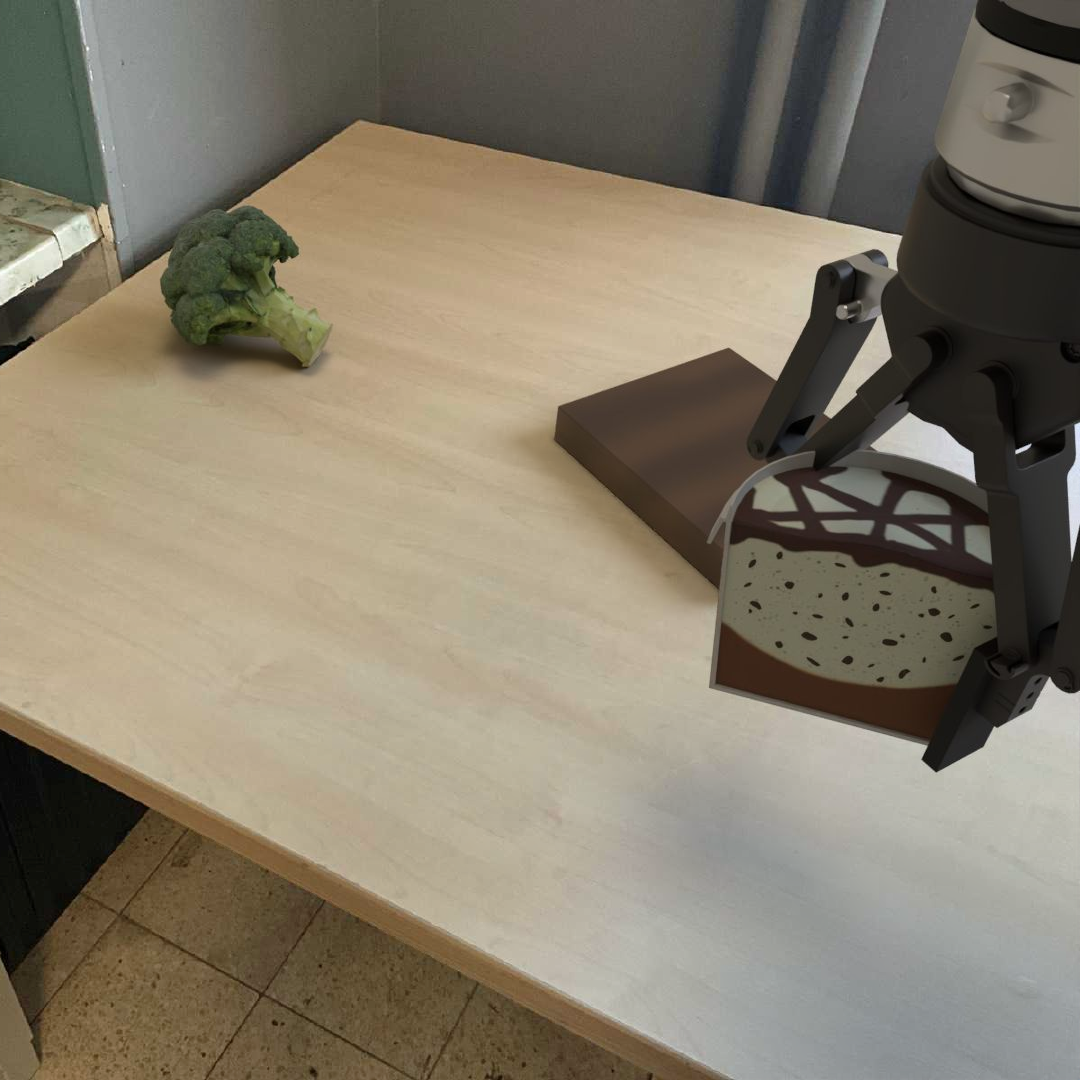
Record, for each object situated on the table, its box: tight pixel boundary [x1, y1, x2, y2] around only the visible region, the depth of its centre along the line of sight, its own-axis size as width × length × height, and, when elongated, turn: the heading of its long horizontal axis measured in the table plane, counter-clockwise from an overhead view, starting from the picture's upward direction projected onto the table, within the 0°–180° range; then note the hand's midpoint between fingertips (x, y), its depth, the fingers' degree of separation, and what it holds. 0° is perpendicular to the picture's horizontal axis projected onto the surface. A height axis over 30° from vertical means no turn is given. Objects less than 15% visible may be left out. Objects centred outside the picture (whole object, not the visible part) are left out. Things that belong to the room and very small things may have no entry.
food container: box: [707, 450, 997, 747], centre depth 48 cm, size 12×6×10 cm, turn 68°
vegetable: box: [159, 205, 334, 368], centre depth 93 cm, size 12×13×15 cm
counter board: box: [553, 347, 878, 589], centre depth 81 cm, size 20×16×3 cm
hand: (862, 675), depth 50 cm, fingers closed on food container, 9 cm apart
